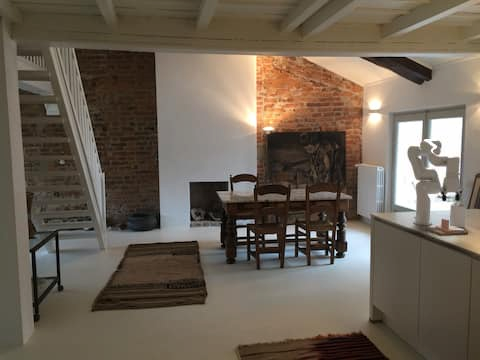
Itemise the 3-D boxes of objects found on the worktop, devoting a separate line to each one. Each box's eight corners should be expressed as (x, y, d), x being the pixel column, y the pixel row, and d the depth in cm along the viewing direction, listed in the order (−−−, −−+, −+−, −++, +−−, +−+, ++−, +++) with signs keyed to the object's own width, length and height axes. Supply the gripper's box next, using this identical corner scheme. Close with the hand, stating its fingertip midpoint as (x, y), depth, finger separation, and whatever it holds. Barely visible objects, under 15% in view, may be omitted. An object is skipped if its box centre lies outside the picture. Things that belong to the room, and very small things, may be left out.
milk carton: (459, 225, 296) (460, 199, 294) (464, 227, 289) (466, 201, 287) (449, 225, 295) (450, 199, 293) (455, 227, 288) (456, 201, 286)
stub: (435, 228, 280) (435, 217, 279) (442, 227, 281) (443, 217, 280) (447, 232, 268) (447, 221, 268) (454, 231, 269) (455, 221, 269)
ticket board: (425, 230, 281) (425, 226, 281) (451, 228, 285) (451, 225, 284) (440, 235, 266) (440, 231, 265) (467, 234, 269) (468, 230, 269)
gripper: (459, 174, 272) (458, 199, 274) (436, 174, 269) (435, 200, 271) (468, 175, 265) (466, 201, 267) (444, 176, 262) (442, 202, 264)
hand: (450, 200), depth 269 cm, fingers open, 9 cm apart
